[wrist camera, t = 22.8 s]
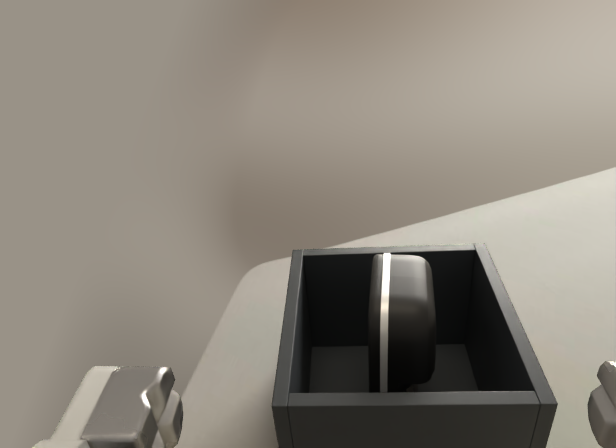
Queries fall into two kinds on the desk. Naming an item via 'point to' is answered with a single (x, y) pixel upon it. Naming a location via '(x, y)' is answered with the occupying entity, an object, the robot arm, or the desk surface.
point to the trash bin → (431, 396)
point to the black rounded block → (400, 324)
